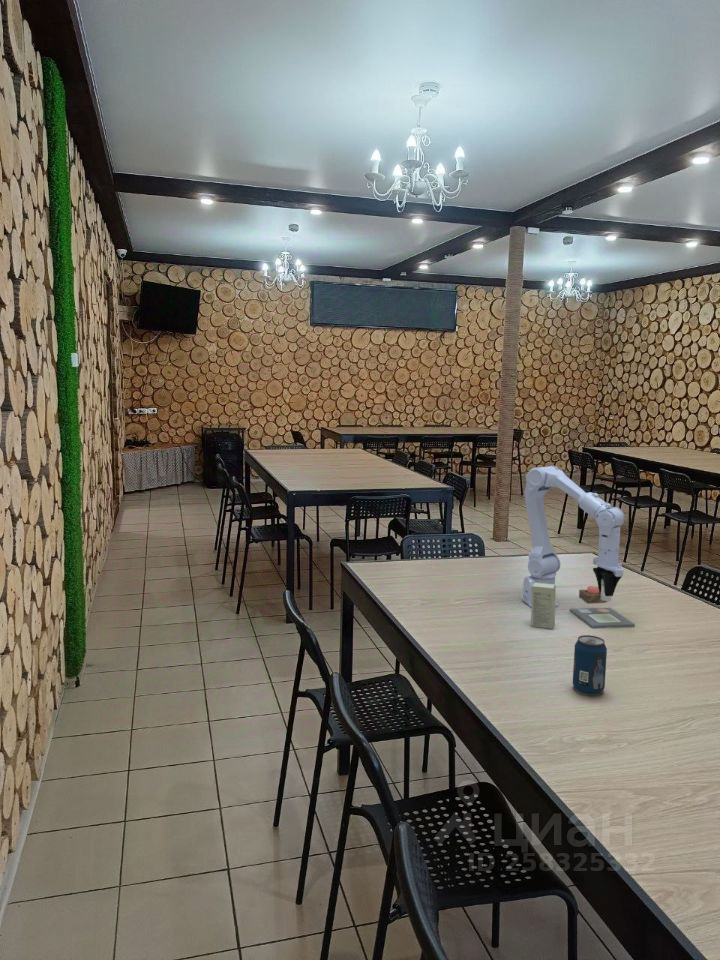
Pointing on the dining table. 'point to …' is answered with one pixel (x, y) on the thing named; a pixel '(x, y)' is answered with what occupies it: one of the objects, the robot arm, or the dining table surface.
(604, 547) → the robot arm
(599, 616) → the picture board
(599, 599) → the button box
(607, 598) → the pale green cylinder
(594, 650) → the soda can
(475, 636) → the dining table surface
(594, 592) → the button
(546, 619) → the skincare box
